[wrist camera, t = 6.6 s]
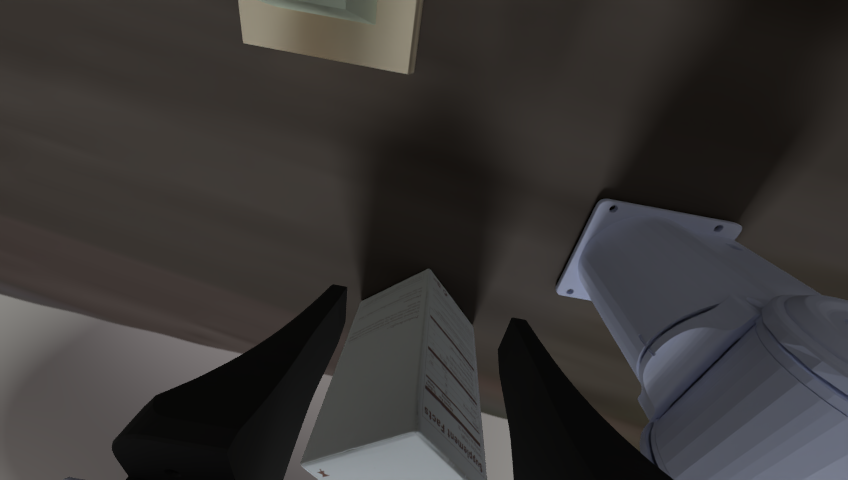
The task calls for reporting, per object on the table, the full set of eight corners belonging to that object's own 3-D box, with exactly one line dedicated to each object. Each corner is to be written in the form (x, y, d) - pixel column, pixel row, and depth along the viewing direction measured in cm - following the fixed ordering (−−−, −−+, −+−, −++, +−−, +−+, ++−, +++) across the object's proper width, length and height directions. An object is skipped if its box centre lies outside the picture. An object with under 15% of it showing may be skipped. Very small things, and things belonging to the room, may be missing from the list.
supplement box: (406, 352, 29) (379, 525, 18) (358, 299, 26) (292, 467, 15) (476, 326, 27) (493, 507, 16) (432, 264, 24) (415, 434, 13)
